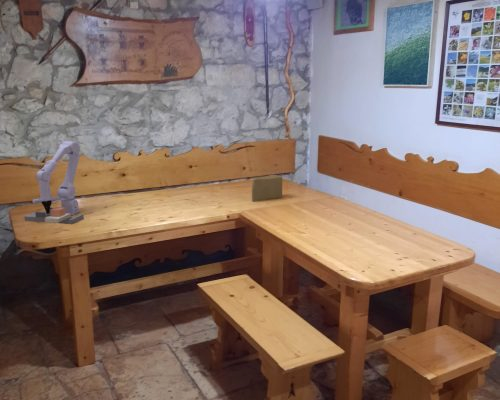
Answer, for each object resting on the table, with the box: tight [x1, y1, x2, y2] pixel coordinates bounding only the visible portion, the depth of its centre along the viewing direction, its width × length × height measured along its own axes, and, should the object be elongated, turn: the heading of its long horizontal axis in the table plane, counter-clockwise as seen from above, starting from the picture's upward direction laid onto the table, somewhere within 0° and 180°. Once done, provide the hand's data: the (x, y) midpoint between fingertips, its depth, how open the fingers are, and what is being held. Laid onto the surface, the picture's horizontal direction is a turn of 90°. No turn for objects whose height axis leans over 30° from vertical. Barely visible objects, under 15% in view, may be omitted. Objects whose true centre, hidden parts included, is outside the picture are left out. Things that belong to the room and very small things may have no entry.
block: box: [50, 206, 66, 217], centre depth 294 cm, size 6×6×4 cm
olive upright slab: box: [251, 174, 283, 202], centre depth 333 cm, size 22×10×15 cm, turn 127°
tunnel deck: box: [23, 206, 85, 225], centre depth 294 cm, size 32×11×6 cm, turn 74°
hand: (47, 213), depth 295 cm, fingers closed
